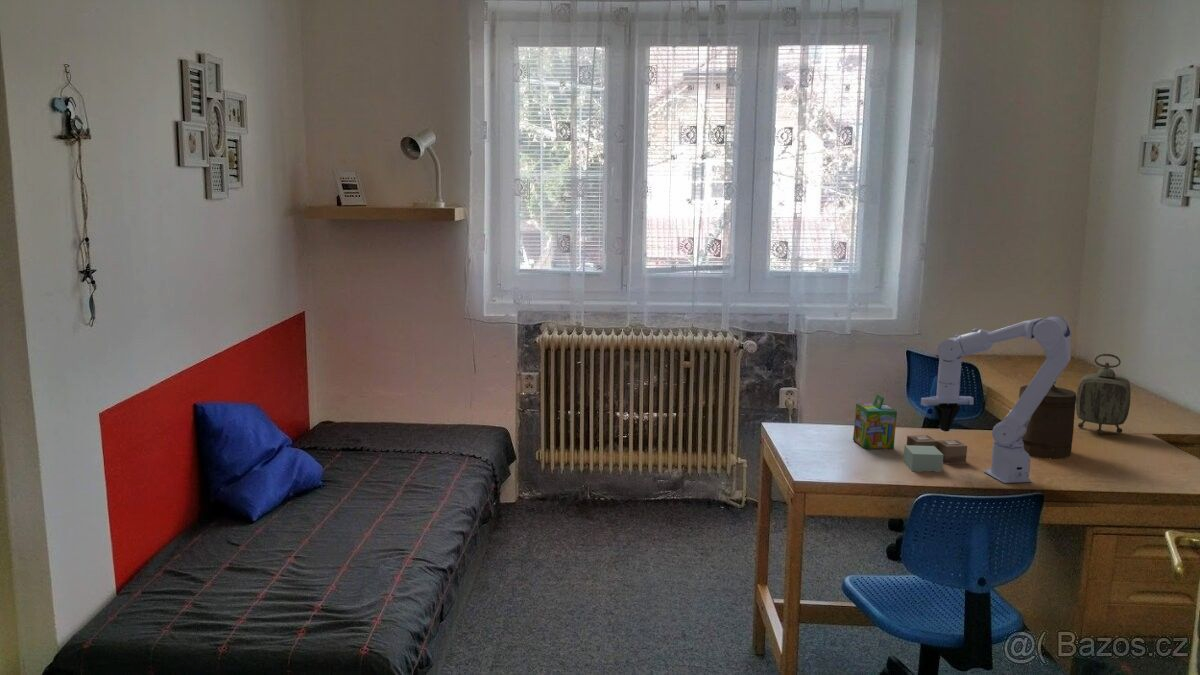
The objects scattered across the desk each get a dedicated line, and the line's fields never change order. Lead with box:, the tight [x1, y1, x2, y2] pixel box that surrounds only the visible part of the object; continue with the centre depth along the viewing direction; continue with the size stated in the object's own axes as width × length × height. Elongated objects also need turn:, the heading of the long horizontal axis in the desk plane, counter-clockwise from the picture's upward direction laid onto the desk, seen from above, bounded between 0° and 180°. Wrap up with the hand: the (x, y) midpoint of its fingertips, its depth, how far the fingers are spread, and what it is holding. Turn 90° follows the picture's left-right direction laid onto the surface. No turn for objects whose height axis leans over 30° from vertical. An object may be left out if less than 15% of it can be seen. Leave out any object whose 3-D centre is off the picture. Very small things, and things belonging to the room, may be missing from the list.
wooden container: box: [1018, 380, 1077, 460], centre depth 254 cm, size 15×15×22 cm
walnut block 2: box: [935, 439, 968, 464], centre depth 247 cm, size 6×6×5 cm
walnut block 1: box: [906, 434, 937, 448], centre depth 251 cm, size 6×6×5 cm
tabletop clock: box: [1075, 353, 1132, 435], centre depth 274 cm, size 14×9×25 cm, turn 59°
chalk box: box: [852, 394, 898, 450], centre depth 259 cm, size 9×9×15 cm
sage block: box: [902, 444, 944, 473], centre depth 240 cm, size 8×8×5 cm
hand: (944, 430), depth 242 cm, fingers closed
